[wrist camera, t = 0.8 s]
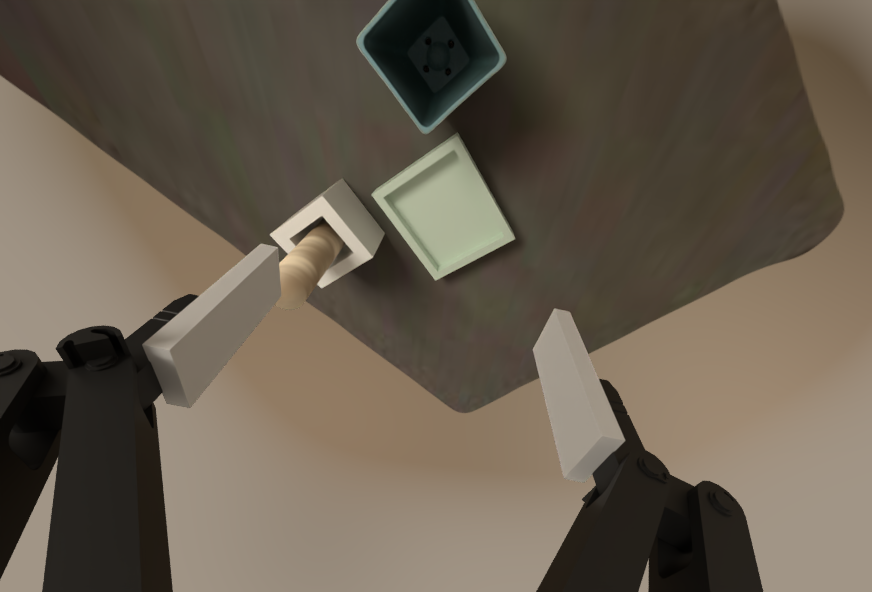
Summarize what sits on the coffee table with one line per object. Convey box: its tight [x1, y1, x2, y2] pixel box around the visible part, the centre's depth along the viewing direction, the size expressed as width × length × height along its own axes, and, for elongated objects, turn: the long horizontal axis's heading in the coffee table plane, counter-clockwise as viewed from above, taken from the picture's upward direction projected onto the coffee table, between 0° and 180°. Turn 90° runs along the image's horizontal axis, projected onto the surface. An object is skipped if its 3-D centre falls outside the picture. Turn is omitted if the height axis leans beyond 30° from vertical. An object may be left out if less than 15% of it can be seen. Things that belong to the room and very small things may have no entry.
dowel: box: [275, 218, 346, 310], centre depth 37 cm, size 4×4×16 cm
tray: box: [372, 132, 515, 281], centre depth 41 cm, size 14×12×2 cm
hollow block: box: [270, 178, 385, 288], centre depth 41 cm, size 9×9×7 cm
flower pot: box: [356, 0, 507, 134], centre depth 29 cm, size 9×9×9 cm
